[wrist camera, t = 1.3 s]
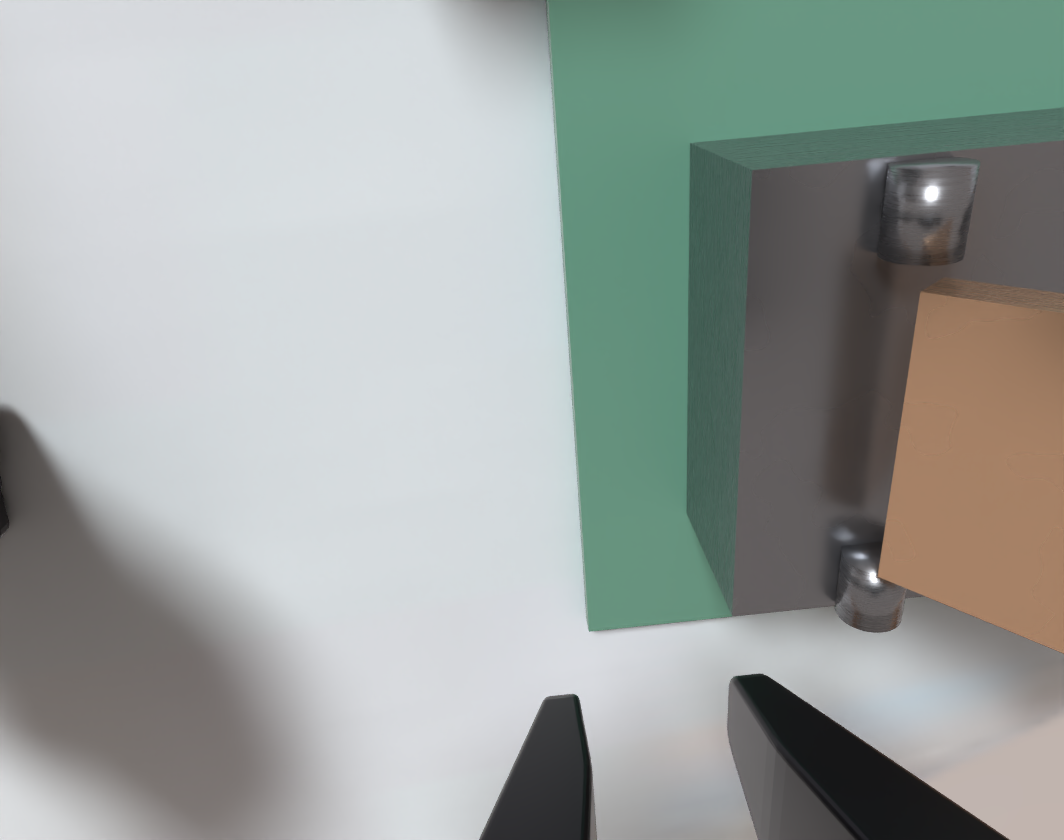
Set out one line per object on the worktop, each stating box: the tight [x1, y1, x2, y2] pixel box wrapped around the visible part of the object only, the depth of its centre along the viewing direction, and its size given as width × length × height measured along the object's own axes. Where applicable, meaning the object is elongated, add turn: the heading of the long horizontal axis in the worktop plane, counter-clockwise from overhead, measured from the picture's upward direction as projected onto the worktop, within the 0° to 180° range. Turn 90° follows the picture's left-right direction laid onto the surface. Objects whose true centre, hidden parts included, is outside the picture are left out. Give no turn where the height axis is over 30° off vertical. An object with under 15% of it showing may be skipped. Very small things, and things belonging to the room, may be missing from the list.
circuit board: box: [546, 0, 1064, 632], centre depth 20 cm, size 20×18×1 cm
